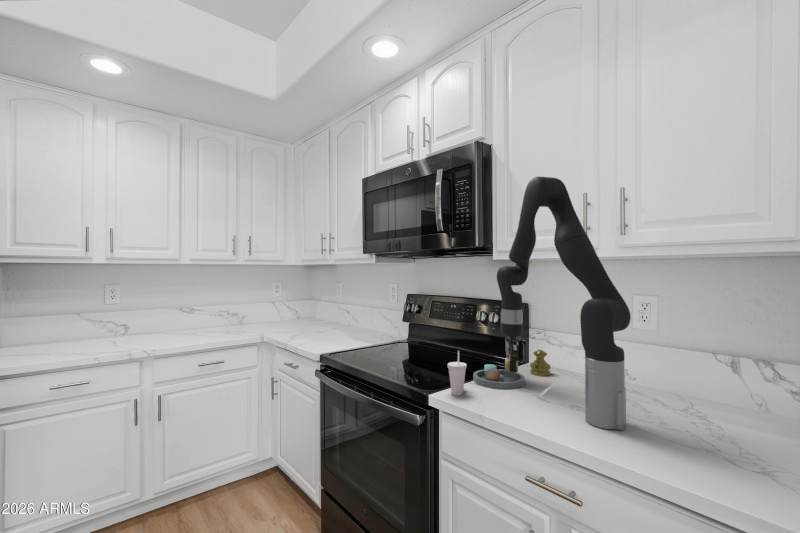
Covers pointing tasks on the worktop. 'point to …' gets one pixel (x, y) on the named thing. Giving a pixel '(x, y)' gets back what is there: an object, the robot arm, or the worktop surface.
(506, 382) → the ring tray
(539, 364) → the olive chess piece
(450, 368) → the smoothie
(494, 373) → the walnut bead
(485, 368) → the teal bead
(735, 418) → the worktop surface
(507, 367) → the oak bead
